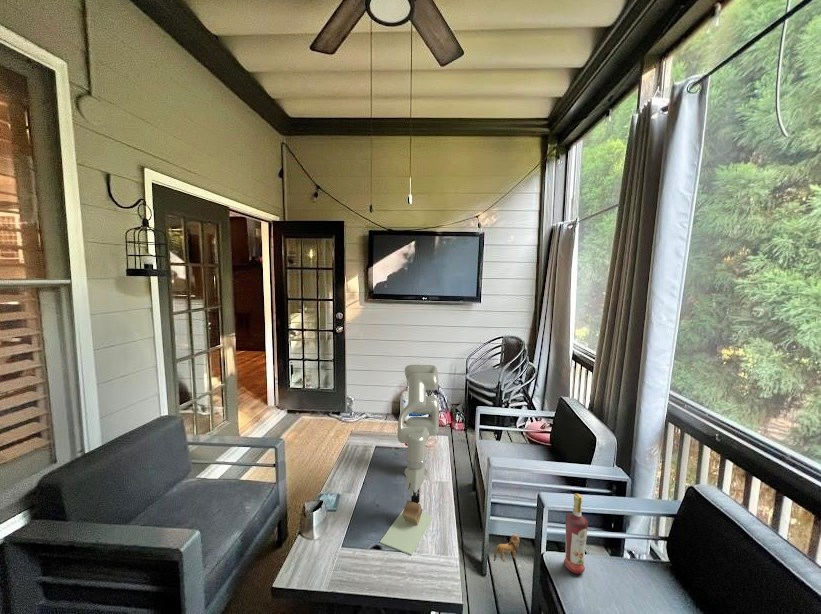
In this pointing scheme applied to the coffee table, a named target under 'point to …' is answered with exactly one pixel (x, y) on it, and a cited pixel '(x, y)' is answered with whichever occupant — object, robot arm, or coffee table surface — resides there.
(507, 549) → the lion figurine
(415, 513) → the walnut cube
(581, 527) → the liquor
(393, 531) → the rubber mat
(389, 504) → the coffee table surface
